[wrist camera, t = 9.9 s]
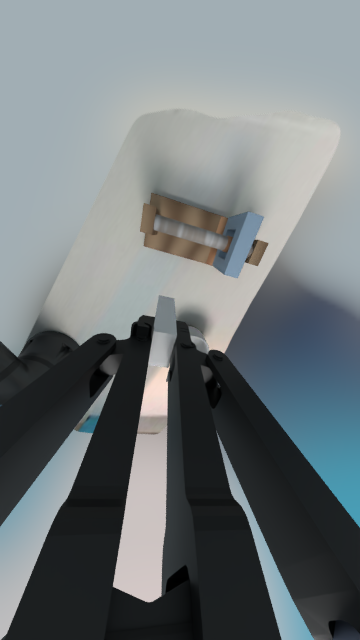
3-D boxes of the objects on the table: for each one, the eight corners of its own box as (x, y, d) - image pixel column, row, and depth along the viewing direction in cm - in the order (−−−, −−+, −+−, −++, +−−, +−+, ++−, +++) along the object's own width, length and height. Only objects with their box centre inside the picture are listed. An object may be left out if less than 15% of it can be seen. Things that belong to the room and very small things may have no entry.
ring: (212, 265, 35) (224, 274, 27) (228, 217, 31) (248, 211, 23) (222, 268, 36) (237, 278, 27) (239, 221, 32) (264, 216, 23)
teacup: (175, 317, 46) (176, 331, 39) (209, 326, 48) (216, 342, 41) (162, 353, 52) (160, 371, 45) (193, 360, 54) (196, 379, 47)
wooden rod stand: (144, 245, 37) (134, 249, 28) (152, 193, 33) (143, 177, 23) (234, 271, 41) (252, 282, 31) (252, 227, 36) (280, 225, 27)
